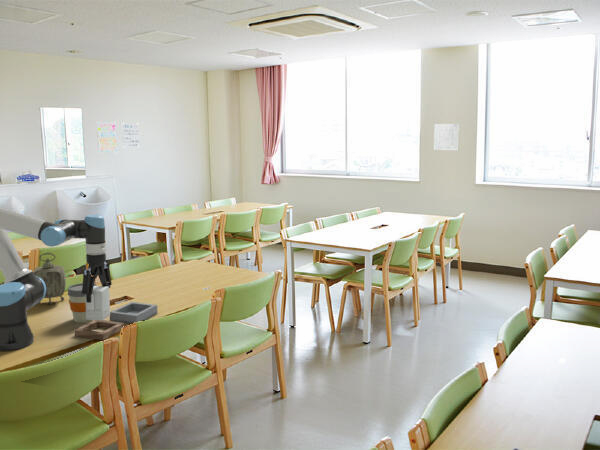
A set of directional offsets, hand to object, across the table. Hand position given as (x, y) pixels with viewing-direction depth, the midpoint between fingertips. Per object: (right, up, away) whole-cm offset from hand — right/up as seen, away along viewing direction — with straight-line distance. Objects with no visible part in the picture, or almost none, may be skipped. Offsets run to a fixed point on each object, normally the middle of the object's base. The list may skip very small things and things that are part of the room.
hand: (97, 306), depth 224 cm
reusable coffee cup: (-12, -9, +17) cm, 23 cm away
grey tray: (+9, -8, +21) cm, 24 cm away
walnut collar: (0, -11, +2) cm, 11 cm away
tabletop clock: (-38, -5, +39) cm, 55 cm away
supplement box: (0, -5, +1) cm, 5 cm away
